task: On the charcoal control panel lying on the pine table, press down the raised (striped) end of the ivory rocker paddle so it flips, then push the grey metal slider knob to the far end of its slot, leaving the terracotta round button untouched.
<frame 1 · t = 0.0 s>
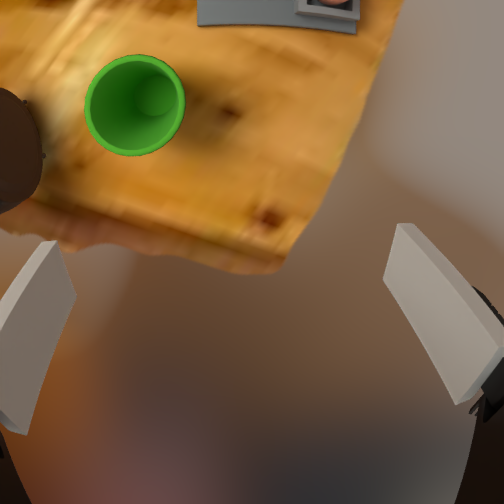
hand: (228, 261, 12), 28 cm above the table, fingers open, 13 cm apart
alarm clock: (25, 135, 32), on the table
cup: (156, 95, 32), on the table
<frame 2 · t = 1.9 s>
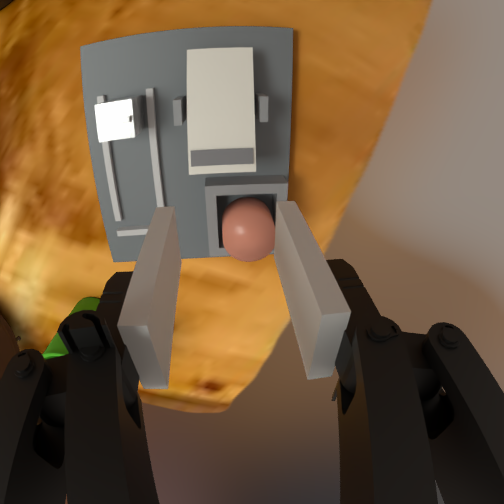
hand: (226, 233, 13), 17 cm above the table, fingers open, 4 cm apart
panel: (187, 149, 27), on the table
cup: (95, 310, 36), on the table
round button: (248, 228, 27), point 5 cm above the table, slide at 0.0 cm
slider knob: (120, 117, 22), point 3 cm above the table, slide at 0.0 cm
paddle: (220, 108, 22), point 4 cm above the table, hinge at -17.0°
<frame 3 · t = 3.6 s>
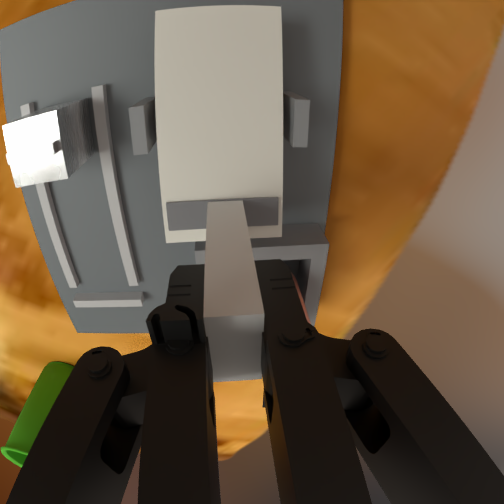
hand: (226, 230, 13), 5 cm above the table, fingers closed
panel: (167, 182, 17), on the table
cup: (67, 374, 27), on the table
round button: (265, 314, 17), point 4 cm above the table, slide at 0.0 cm
slider knob: (48, 141, 12), point 3 cm above the table, slide at 0.0 cm
paddle: (219, 120, 12), point 4 cm above the table, hinge at -10.4°, touching gripper
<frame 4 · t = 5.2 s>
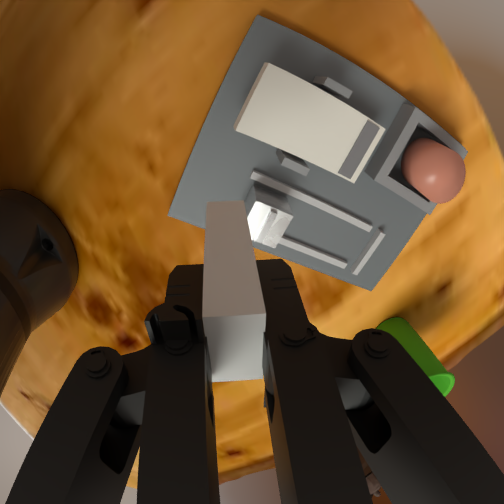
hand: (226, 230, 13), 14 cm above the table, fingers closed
panel: (328, 169, 26), on the table
alarm clock: (322, 407, 47), on the table
cup: (389, 329, 38), on the table
round button: (433, 169, 22), point 4 cm above the table, slide at 0.0 cm
slider knob: (264, 216, 25), point 3 cm above the table, slide at 0.0 cm
paddle: (314, 125, 21), point 4 cm above the table, hinge at 8.2°
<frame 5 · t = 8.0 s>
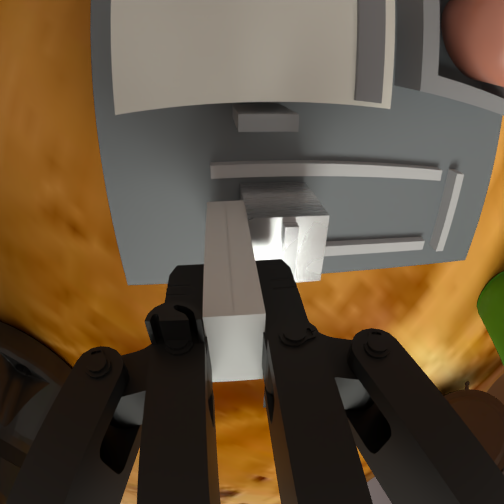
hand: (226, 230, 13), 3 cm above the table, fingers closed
panel: (336, 106, 14), on the table
alarm clock: (437, 397, 34), on the table
cup: (493, 290, 23), on the table
round button: (498, 40, 8), point 4 cm above the table, slide at 0.0 cm
slider knob: (279, 232, 13), point 3 cm above the table, slide at 0.8 cm, touching gripper
paddle: (267, 32, 9), point 4 cm above the table, hinge at 9.3°
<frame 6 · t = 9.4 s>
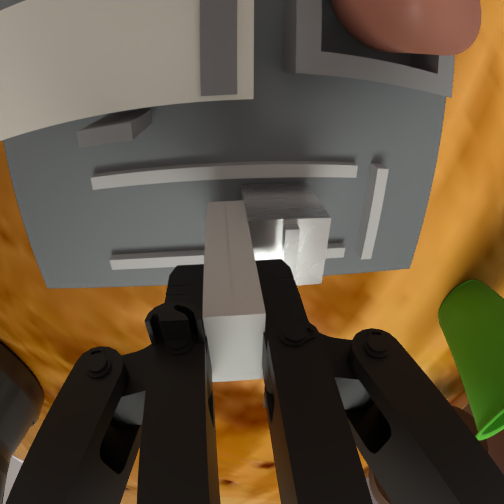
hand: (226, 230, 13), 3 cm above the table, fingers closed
panel: (222, 103, 13), on the table
alarm clock: (406, 410, 33), on the table
cup: (459, 301, 22), on the table
slider knob: (280, 234, 13), point 3 cm above the table, slide at 6.2 cm, touching gripper
paddle: (104, 44, 8), point 4 cm above the table, hinge at 9.3°
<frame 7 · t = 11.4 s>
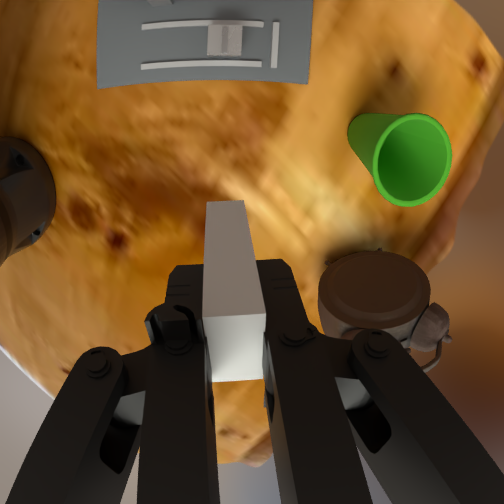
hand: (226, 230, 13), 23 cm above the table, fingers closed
panel: (203, 1, 24), on the table
alarm clock: (352, 265, 45), on the table
cup: (365, 133, 34), on the table
slider knob: (224, 41, 25), point 3 cm above the table, slide at 6.2 cm
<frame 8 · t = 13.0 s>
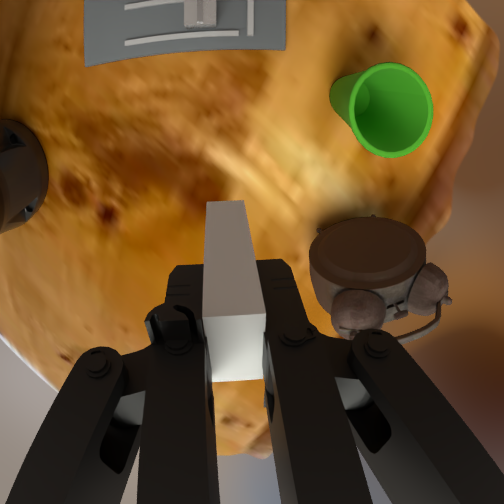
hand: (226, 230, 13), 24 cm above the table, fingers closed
alarm clock: (346, 234, 44), on the table
cup: (348, 96, 33), on the table
slider knob: (200, 13, 24), point 3 cm above the table, slide at 6.2 cm
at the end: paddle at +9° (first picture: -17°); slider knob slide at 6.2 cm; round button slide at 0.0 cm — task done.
